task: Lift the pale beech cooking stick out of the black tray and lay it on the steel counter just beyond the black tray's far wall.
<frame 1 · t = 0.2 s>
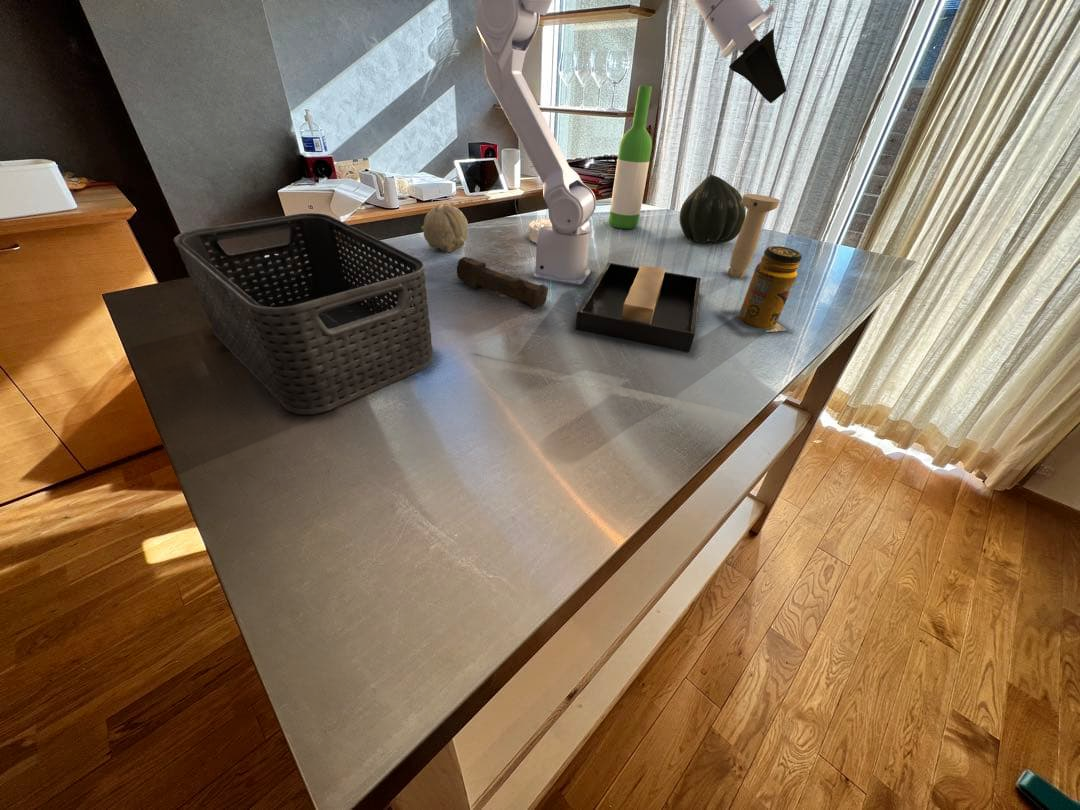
hand: (778, 95, 61), 31 cm above the table, tool tilted 45°, fingers open, 7 cm apart
stick: (641, 309, 75), resting on black tray
handle: (735, 276, 91), on the table
wine bottle: (622, 226, 117), on the table
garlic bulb: (445, 250, 95), on the table
black tray: (640, 311, 75), on the table
mooncake: (553, 240, 104), on the table
hand tool: (495, 295, 78), on the table
condiment: (750, 323, 74), on the table
squash: (703, 240, 111), on the table
storage bin: (324, 347, 61), on the table
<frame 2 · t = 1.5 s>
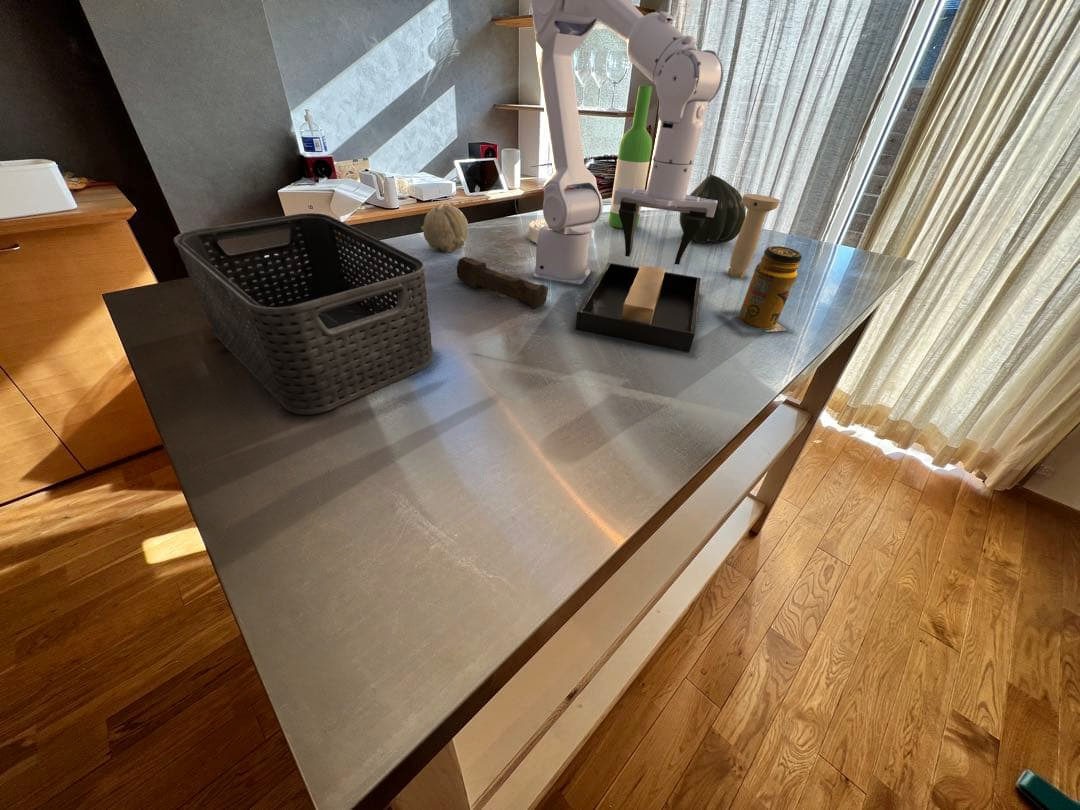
hand: (652, 258, 69), 9 cm above the table, tool pointing down, fingers open, 7 cm apart
nothing on the table moved.
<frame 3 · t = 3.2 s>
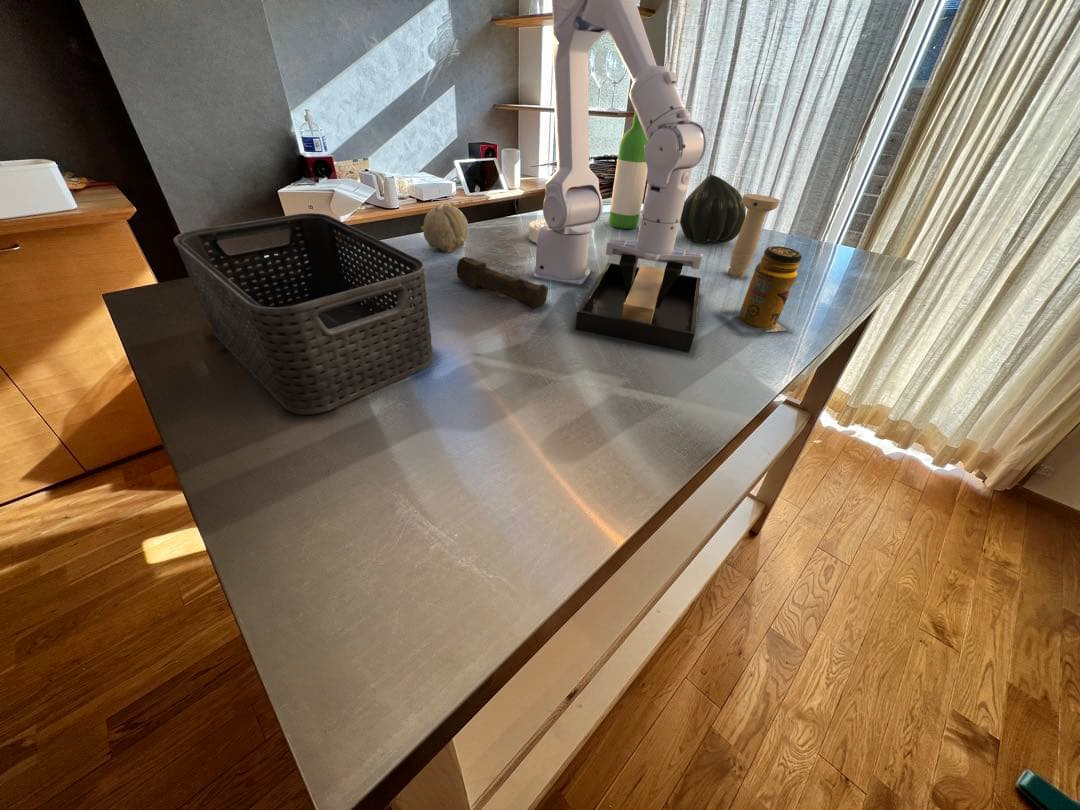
hand: (642, 303, 74), 2 cm above the table, tool pointing down, fingers closed on stick, 4 cm apart
stick: (641, 309, 75), resting on black tray, touching gripper
everything else where it was.
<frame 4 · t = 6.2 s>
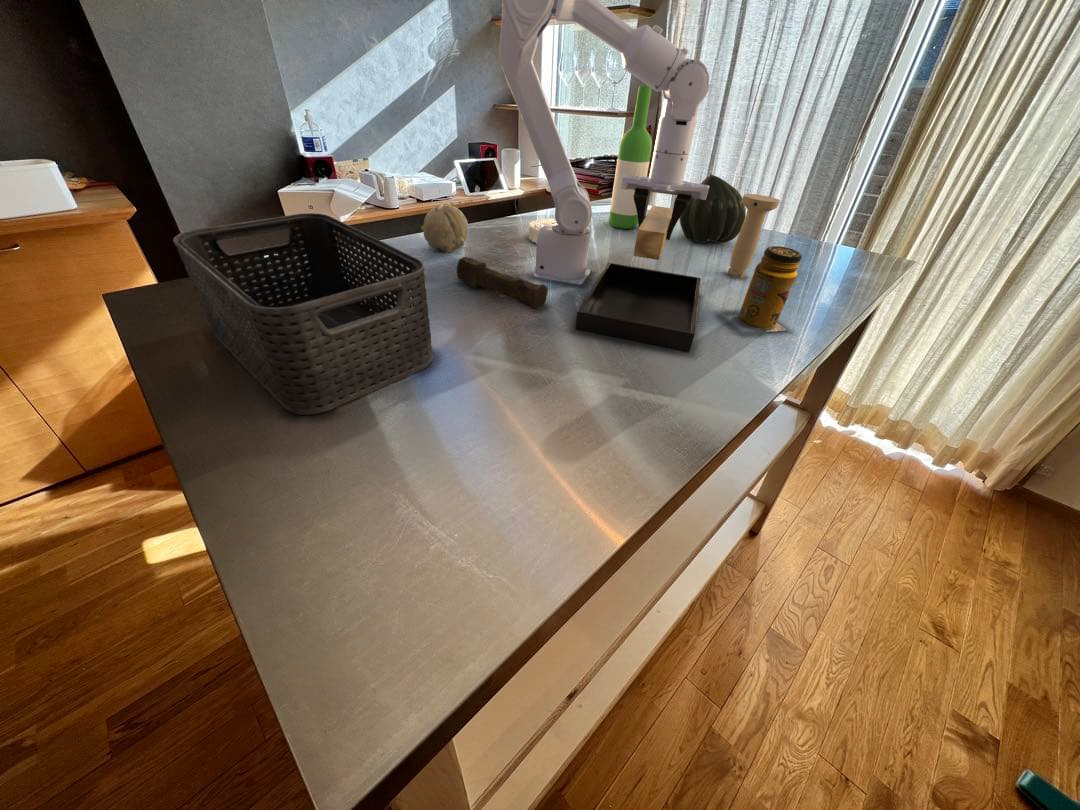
hand: (654, 236, 81), 9 cm above the table, tool pointing down, fingers closed on stick, 4 cm apart
stick: (652, 243, 82), point 7 cm above the table, touching gripper
everything else where it was.
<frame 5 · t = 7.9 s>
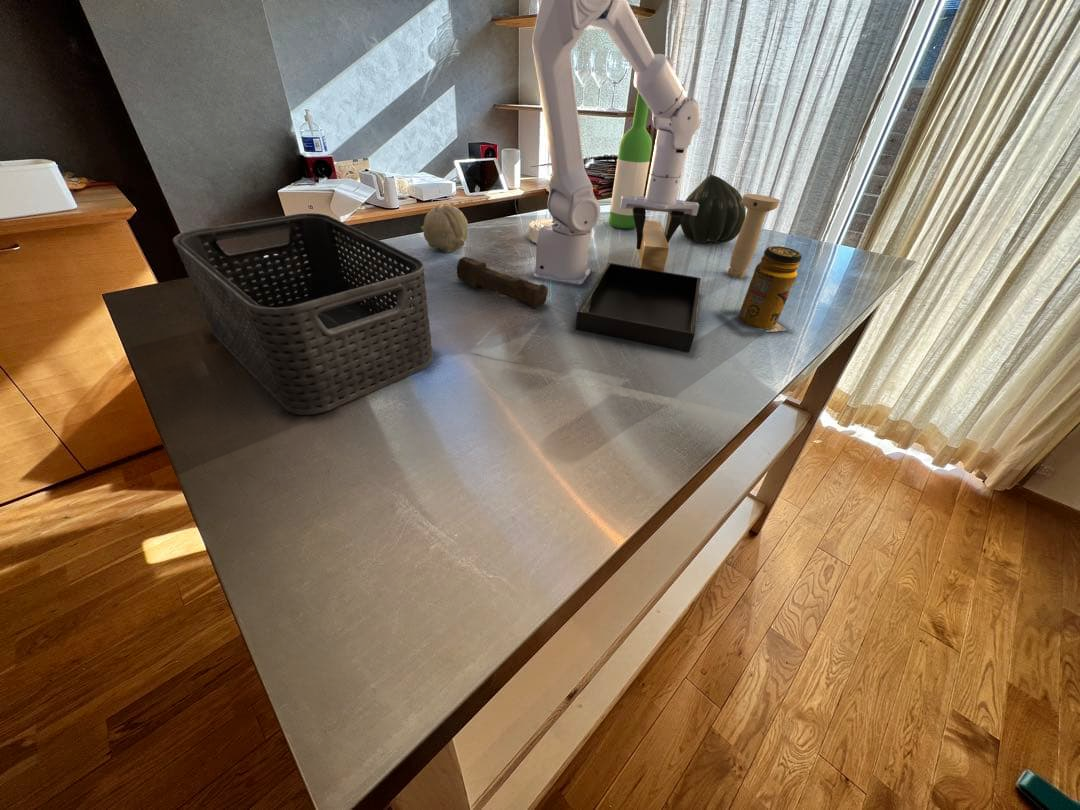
hand: (650, 248, 90), 4 cm above the table, tool pointing down, fingers closed on stick, 4 cm apart
stick: (649, 254, 91), point 3 cm above the table, touching gripper
everything else where it was.
when the fingers open (1 cm above the table, at t = 9.2 s): stick stays where it is, on the table.
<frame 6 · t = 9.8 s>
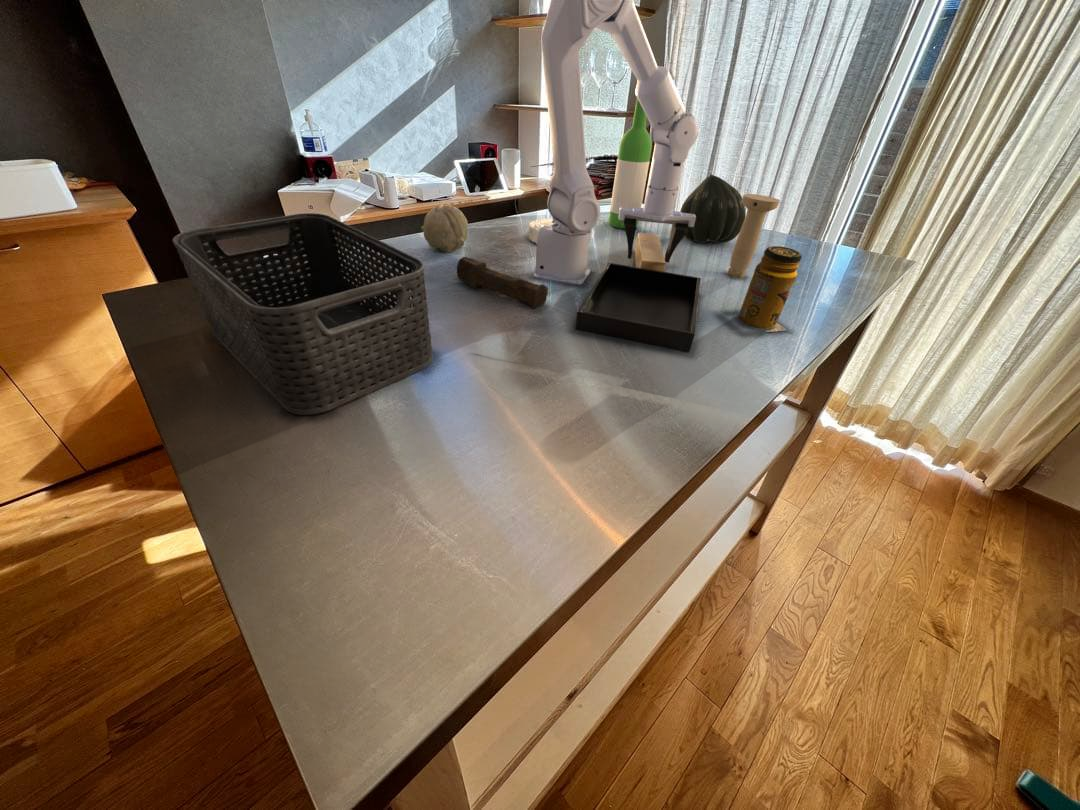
hand: (647, 259, 91), 2 cm above the table, tool pointing down, fingers open, 7 cm apart
stick: (646, 267, 92), on the table
everything else where it was.
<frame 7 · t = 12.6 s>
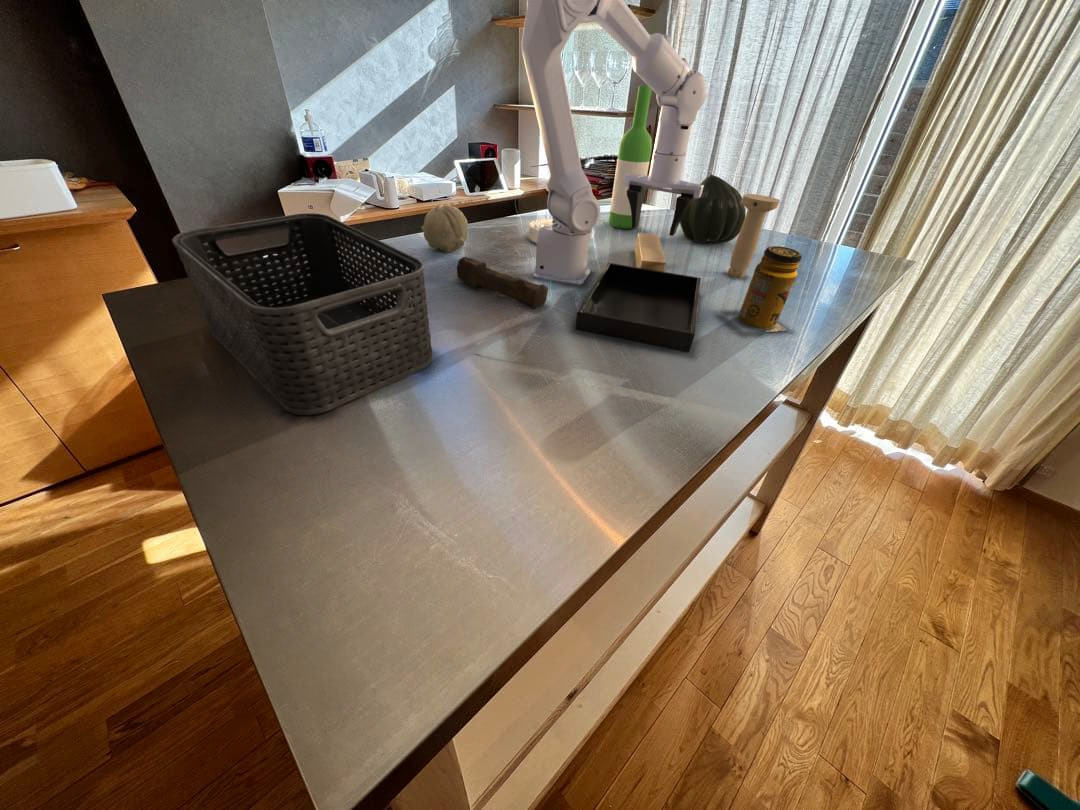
hand: (653, 230, 88), 7 cm above the table, tool pointing down, fingers open, 7 cm apart
nothing on the table moved.
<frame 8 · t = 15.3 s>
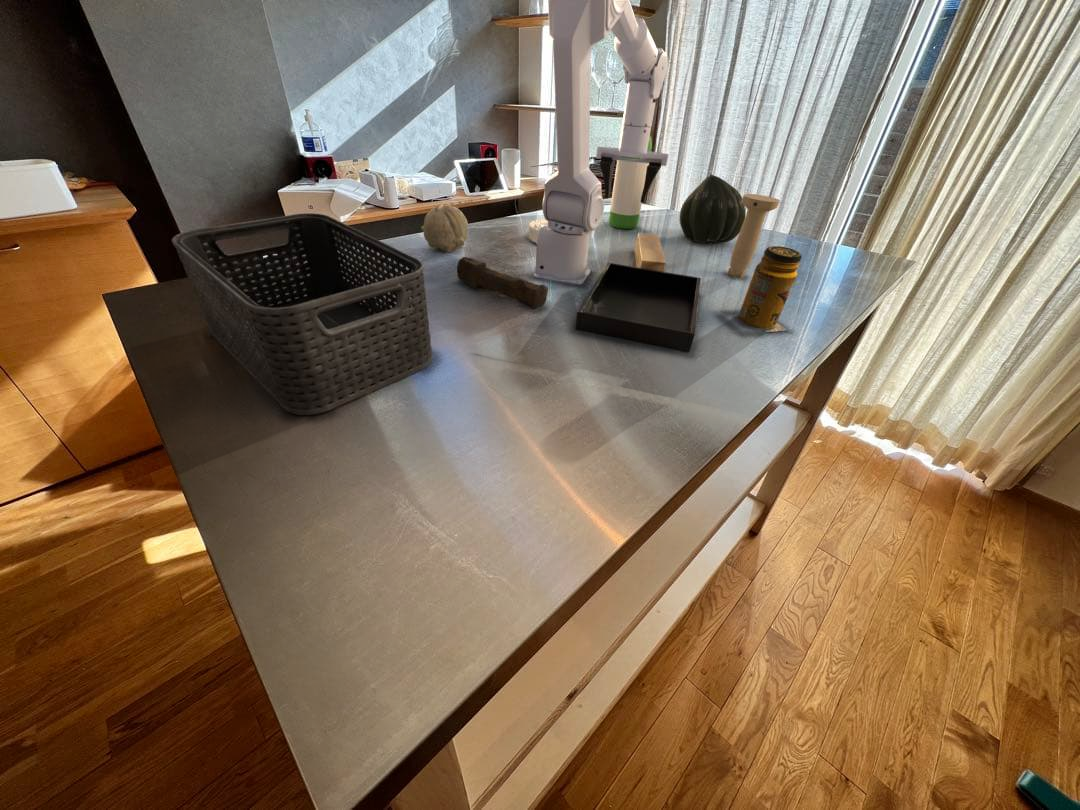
hand: (624, 199, 95), 10 cm above the table, tool pointing down, fingers open, 7 cm apart
nothing on the table moved.
at the end: stick inside the target area (0.1 cm from its centre), on the table; stick touching table; the gripper is holding nothing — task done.
